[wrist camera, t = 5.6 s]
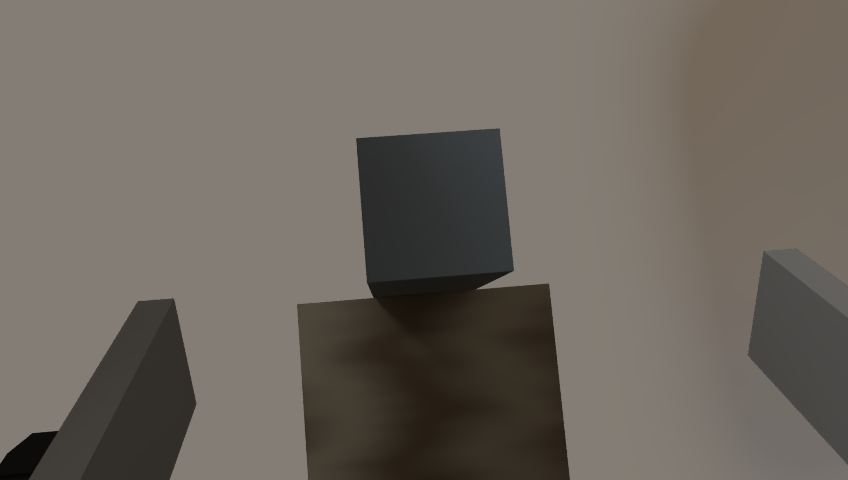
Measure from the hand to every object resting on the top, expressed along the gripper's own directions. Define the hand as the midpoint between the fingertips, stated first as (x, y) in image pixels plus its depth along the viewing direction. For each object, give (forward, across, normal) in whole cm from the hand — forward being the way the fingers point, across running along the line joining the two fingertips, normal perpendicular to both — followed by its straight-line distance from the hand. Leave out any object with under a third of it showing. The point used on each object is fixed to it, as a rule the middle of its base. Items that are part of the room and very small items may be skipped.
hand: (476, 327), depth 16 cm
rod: (+14, 0, -6) cm, 15 cm away
